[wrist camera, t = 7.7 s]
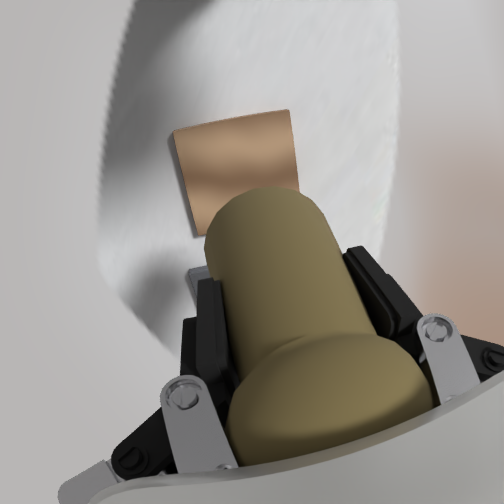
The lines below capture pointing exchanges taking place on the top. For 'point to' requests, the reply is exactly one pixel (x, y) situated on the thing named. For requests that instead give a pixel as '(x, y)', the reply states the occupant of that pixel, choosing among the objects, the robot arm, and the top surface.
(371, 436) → the robot arm
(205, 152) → the coaster board
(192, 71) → the top surface
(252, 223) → the cork
